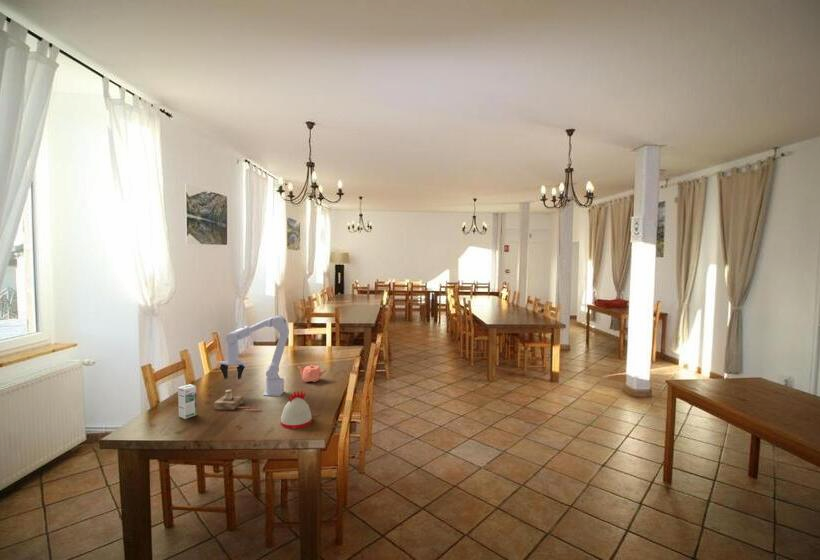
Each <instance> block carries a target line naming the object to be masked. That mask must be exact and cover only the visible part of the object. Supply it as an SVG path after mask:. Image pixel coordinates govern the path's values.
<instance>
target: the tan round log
mask: <svg viewBox="0 0 820 560" xmlns="http://www.w3.org/2000/svg"><path fill="white" fill-rule="evenodd" d="M225 396H226V401H231V400H232V396H233V389H227V390H225Z"/></svg>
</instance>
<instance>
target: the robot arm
mask: <svg viewBox="0 0 820 560" xmlns="http://www.w3.org/2000/svg"><path fill="white" fill-rule="evenodd" d="M265 327H269V328H272V327H273V328H274V329H275V330H276V331H277V332H278V334H279V336H278V340H277V343H276V347H275V350H274V352H273V356H272V360H271V362H270V364H269V366H268V367H267V370H266V372H265V376H266V377H265V392H264V393H263V396H268V397H269V396H270V397H273V396H274V397H281V396H282V394H284V392H285V379H284V377H283V378H282V377H280V375H279V372H280V363H281V360H282V357H283V353H284V351H285V347H286V345H287V341H288V338H289V335H290V330H289V327H288V324H287V320H286V319H285V317H284V316H283V315H280V314H277V315H275V316H271V317H269V318H265V319H264V320H262V321H259V322H257V323H255V324H253V325H251V326H249V325H242V326H241V327H240V328H238V329H234V330H233V331H230V332H229V333H228V334H227V335H226V337H225V341H226V360H223V361H221V360H220V361H218V366H219V369H220V371H221V372H222V374H223V378H224V379H225V380H226V379H228V375H229V374H228V373H229V372H228V371H229V370H228V369H229V366H232V367H233V366H237V367H236V370H237V380H240V379H241V378H242V375H243V373H244V370H245V368H246V366H247V361H241V360H239V341H241V340H244V339H245V338H248V337H250V336H252V334H253V333H254V332H256V331H258V330H260V329H263V328H265Z"/></svg>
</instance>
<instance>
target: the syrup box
mask: <svg viewBox="0 0 820 560" xmlns="http://www.w3.org/2000/svg"><path fill="white" fill-rule="evenodd" d="M177 397H178V398H177V399H178V402H177V403H178V417H180V418H182V419H184V420H186V419H189V418H192V417H195V416H197V415H198V414H197V413H198V411H197V410H198V409H197V385H195V384H190V383H189V384H186V385H183V386H178V388H177Z"/></svg>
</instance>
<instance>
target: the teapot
mask: <svg viewBox="0 0 820 560" xmlns="http://www.w3.org/2000/svg"><path fill="white" fill-rule="evenodd" d="M297 368H298V369H299V373H300V375H301V376H302V377H301V378H302V381H303V382H308V383H309V382H312V383H313V382H316V383H317V382H319V380H320V379H321V376H322V375H324V374H325V373H326V372H327V370H326V368H324V369H321V367H320V366H319V365H314V364H310V365H306V366H305V367H304V368H303V369H302V367H301V366H300V365H298V366H297Z"/></svg>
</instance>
